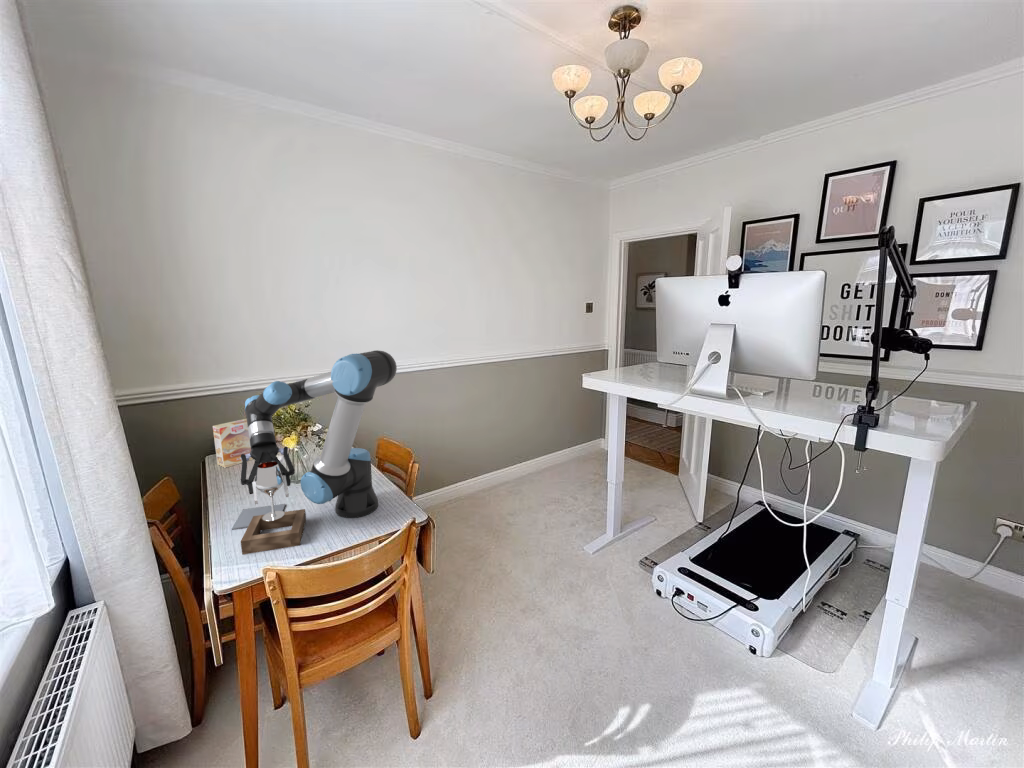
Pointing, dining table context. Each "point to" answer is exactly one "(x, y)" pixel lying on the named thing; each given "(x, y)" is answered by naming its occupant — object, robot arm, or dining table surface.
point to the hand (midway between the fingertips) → (272, 498)
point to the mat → (248, 514)
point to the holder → (274, 540)
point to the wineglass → (269, 485)
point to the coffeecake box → (231, 442)
